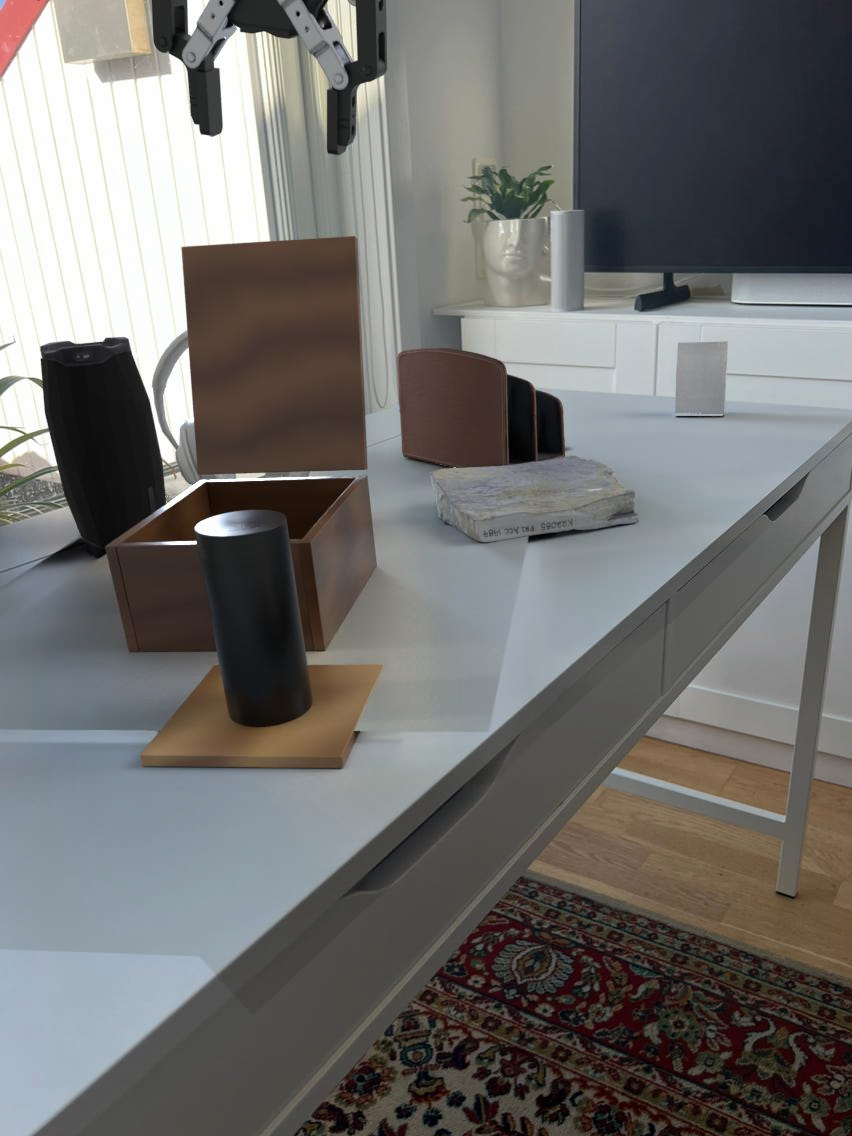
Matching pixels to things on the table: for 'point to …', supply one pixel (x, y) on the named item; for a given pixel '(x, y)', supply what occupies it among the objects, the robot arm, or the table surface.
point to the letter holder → (473, 411)
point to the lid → (276, 356)
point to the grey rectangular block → (701, 377)
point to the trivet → (301, 743)
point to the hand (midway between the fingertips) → (273, 143)
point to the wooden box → (174, 576)
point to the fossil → (531, 498)
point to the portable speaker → (102, 437)
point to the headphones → (187, 432)
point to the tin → (255, 616)
